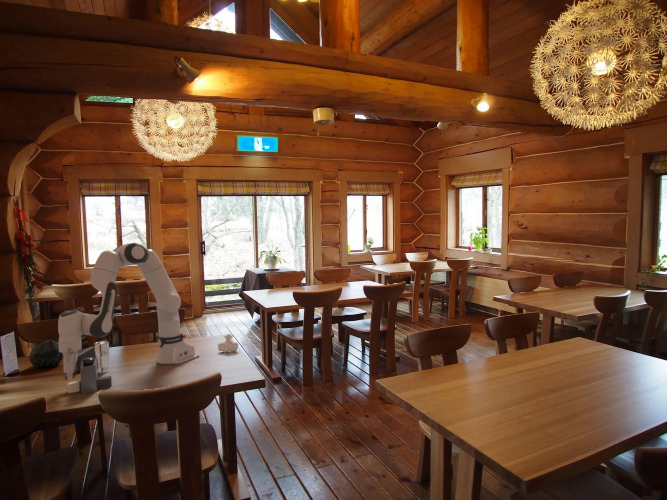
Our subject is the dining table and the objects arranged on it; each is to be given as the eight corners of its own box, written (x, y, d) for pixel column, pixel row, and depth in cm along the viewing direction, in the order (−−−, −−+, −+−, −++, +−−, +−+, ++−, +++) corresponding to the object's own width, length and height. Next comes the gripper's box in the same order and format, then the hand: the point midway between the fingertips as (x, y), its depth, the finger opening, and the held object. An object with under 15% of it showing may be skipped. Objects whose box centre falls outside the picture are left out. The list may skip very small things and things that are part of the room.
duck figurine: (238, 354, 254) (240, 336, 260) (236, 350, 247) (238, 331, 254) (218, 355, 253) (220, 337, 260) (215, 350, 247) (218, 332, 253)
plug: (111, 384, 204) (111, 375, 204) (111, 386, 202) (111, 377, 201) (68, 390, 196) (68, 382, 196) (68, 393, 194) (67, 384, 193)
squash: (26, 354, 232) (30, 337, 225) (58, 349, 243) (63, 333, 236) (31, 376, 225) (35, 360, 218) (63, 370, 236) (68, 354, 229)
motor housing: (97, 383, 205) (96, 354, 204) (96, 391, 195) (95, 361, 194) (83, 385, 203) (81, 356, 202) (81, 393, 193) (79, 363, 192)
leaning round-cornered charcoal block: (87, 362, 235) (86, 346, 234) (96, 362, 235) (95, 345, 234) (70, 373, 219) (69, 355, 218) (79, 373, 219) (78, 355, 218)
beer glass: (103, 374, 217) (102, 345, 216) (91, 373, 219) (90, 344, 218) (113, 369, 224) (112, 341, 223) (101, 368, 226) (100, 340, 224)
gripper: (76, 351, 187) (77, 382, 188) (80, 339, 205) (81, 368, 206) (58, 353, 184) (60, 384, 185) (65, 341, 202) (65, 370, 203)
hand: (71, 376), depth 196 cm, fingers open, 8 cm apart
